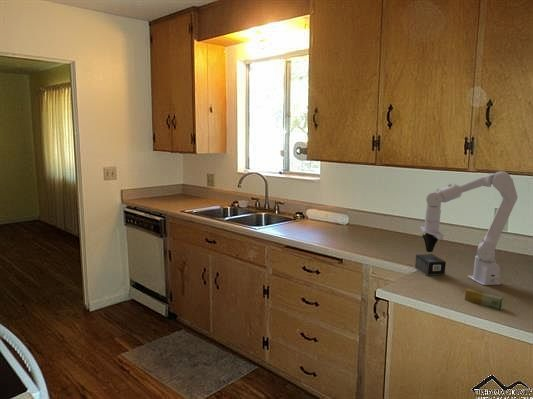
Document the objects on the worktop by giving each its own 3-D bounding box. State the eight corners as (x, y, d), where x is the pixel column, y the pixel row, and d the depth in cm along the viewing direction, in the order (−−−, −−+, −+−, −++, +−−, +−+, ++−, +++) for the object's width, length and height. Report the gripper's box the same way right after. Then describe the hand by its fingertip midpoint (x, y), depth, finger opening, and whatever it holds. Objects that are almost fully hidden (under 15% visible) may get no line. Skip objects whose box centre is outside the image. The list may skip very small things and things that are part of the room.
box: (444, 274, 173) (431, 265, 183) (446, 261, 172) (432, 253, 182) (427, 275, 172) (414, 266, 182) (428, 262, 170) (415, 253, 181)
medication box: (503, 309, 142) (504, 297, 142) (500, 311, 140) (502, 299, 140) (466, 298, 151) (468, 287, 150) (463, 300, 149) (465, 289, 148)
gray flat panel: (443, 274, 174) (443, 273, 174) (425, 275, 172) (425, 274, 172) (431, 267, 183) (431, 266, 182) (414, 268, 181) (414, 266, 181)
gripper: (414, 216, 181) (411, 246, 183) (433, 224, 167) (430, 257, 169) (429, 216, 182) (426, 246, 185) (449, 224, 168) (445, 256, 170)
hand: (429, 251), depth 177 cm, fingers closed
